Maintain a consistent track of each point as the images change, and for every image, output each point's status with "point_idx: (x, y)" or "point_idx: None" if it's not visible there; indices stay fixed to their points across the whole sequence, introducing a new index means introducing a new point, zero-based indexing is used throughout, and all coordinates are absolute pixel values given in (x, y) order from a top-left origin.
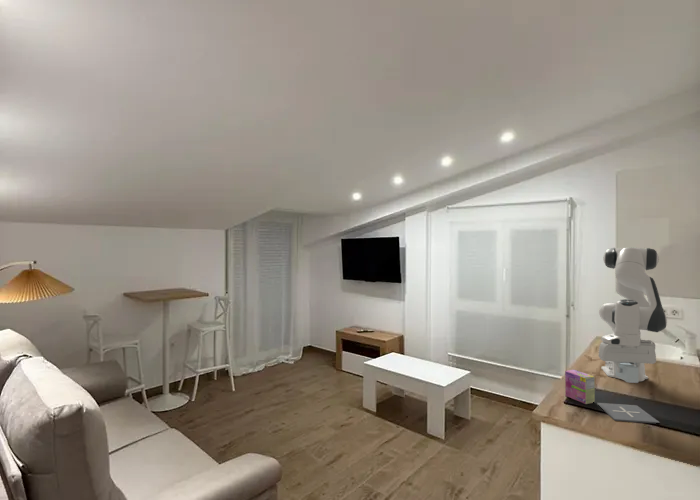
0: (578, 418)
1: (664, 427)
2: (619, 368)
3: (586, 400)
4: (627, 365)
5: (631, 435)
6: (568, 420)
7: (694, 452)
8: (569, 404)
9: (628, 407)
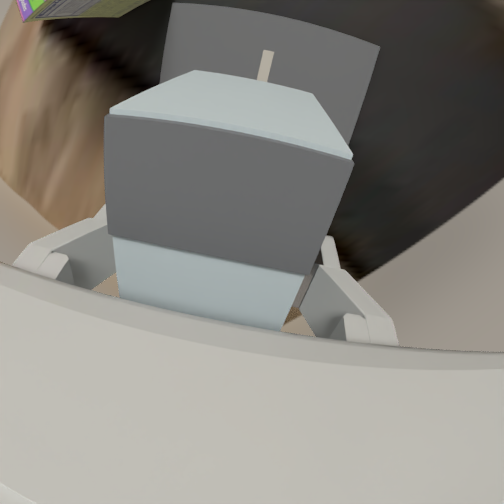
0: (43, 163)
1: None
2: (106, 267)
3: (113, 15)
4: None
5: None
6: (18, 180)
7: None
8: (54, 34)
9: (311, 62)
